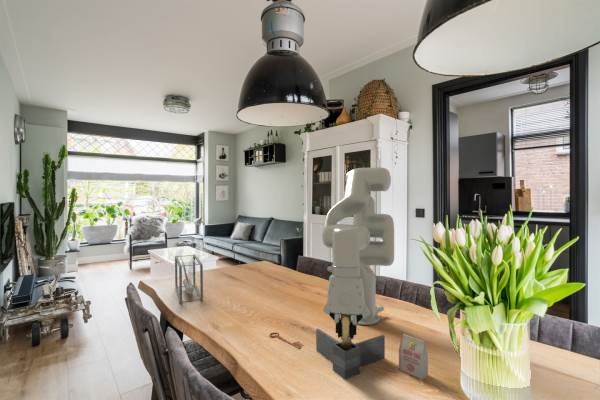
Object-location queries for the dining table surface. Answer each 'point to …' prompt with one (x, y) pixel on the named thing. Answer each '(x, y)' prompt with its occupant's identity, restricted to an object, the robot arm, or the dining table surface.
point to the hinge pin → (345, 332)
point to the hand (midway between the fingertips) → (346, 335)
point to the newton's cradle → (187, 281)
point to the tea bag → (413, 357)
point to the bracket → (350, 353)
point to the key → (288, 341)
